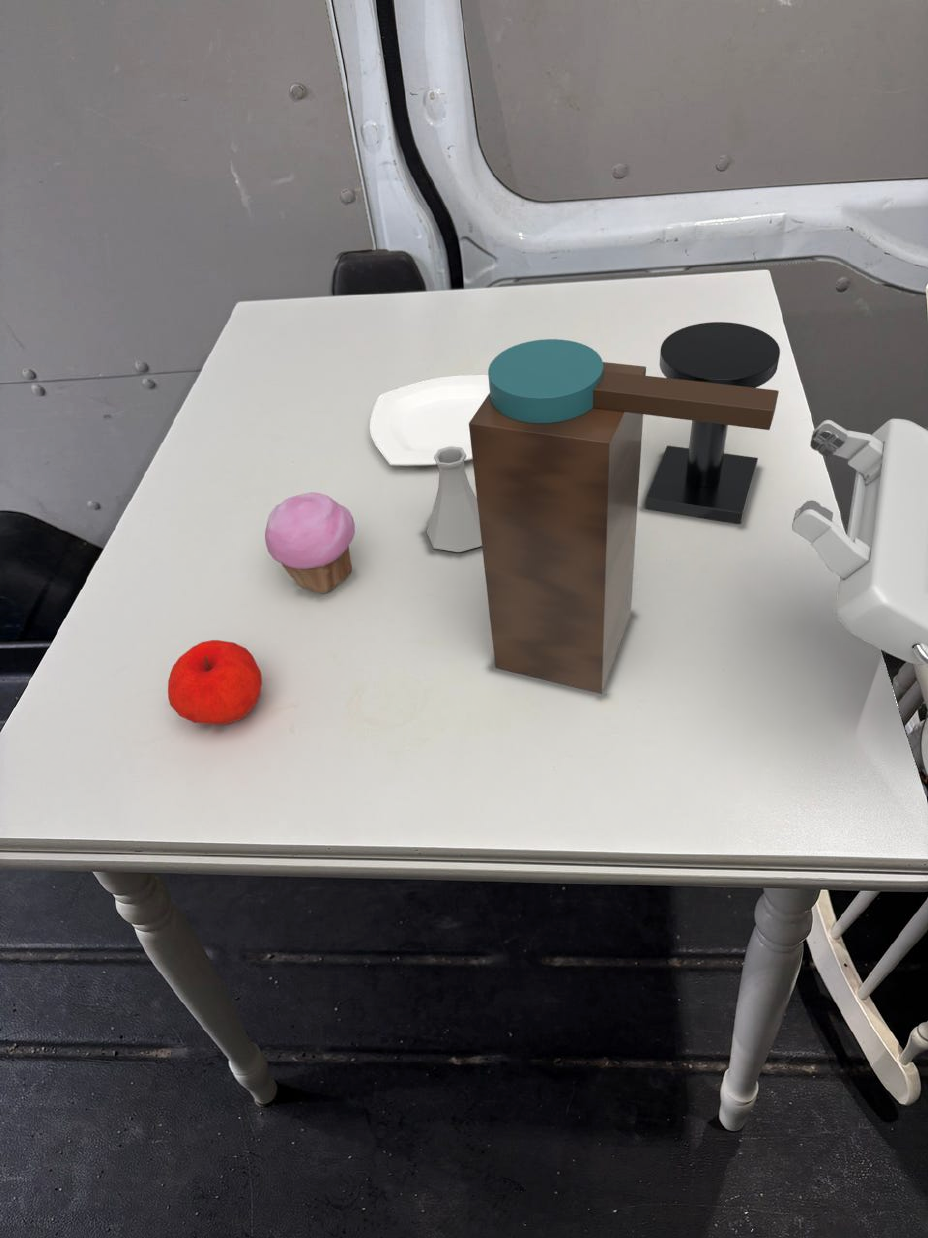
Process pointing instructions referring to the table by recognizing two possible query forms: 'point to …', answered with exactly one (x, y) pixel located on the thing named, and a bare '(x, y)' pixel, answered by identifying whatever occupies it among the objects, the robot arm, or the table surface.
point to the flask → (454, 505)
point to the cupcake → (311, 540)
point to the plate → (427, 418)
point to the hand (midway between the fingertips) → (808, 469)
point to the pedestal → (558, 537)
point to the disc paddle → (611, 389)
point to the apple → (214, 683)
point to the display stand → (703, 470)
